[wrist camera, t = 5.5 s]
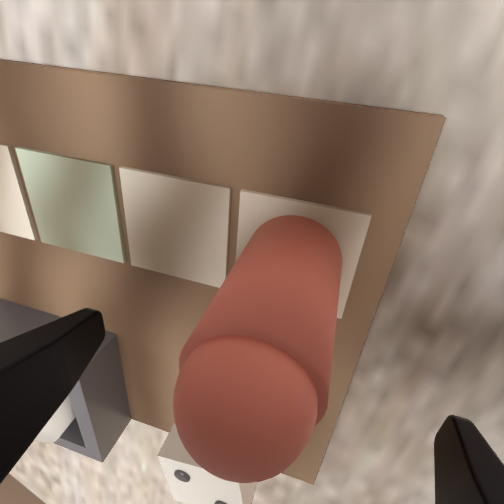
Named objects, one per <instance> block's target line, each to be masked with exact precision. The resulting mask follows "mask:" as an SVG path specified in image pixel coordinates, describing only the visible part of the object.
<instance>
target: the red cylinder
mask: <svg viewBox="0 0 504 504" xmlns="http://www.w3.org/2000/svg"><path fill="white" fill-rule="evenodd" d="M341 271H342V253H341V249H340V246H339V244H338V242H337V240H336V239H335V237H334V236H333V235H332V233H331V232H330V231H329V230H328V229H327V228H325V227H324V226H323V225H321V224H320V223H318V222H316V221H314V220H312V219H309V218H306V217H303V216H296V215H286V216H279V217H276V218H273V219H270V220H268V221H266V222H265V223H263V224H262V225H261V226H260V227H259V228H258V229H257V230H256V231H255V232H254V234H253V235H252V237H251V239H250V240H249V242H248V244H247V245H246V247H245V248H244V250H243V252H242V253H241V255H240V256H239V258H238V260H237V261H236V263H235V264H234V266H233V268H232V269H231V271H230V273H229V274H228V276H227V277H226V279H225V281H224V282H223V284H222V285H221V287H220V289H219V290H218V292H217V293H216V295H215V297H214V298H213V300H212V302H211V303H210V305H209V306H208V308H207V310H206V311H205V313H204V314H203V316H202V318H201V319H200V321H199V323H198V324H197V326H196V327H195V329H194V331H193V332H192V334H191V335H190V337H189V339H188V340H187V342H186V343H185V345H184V347H183V349H182V351H181V353H180V357H179V375H178V378H177V381H176V385H175V390H174V397H173V412H174V420H175V425H176V428H177V432H178V435H179V437H180V439H181V441H182V443H183V445H184V447H185V449H186V451H187V452H188V453H189V455H190V456H191V457H192V458H193V460H194V461H195V462H196V463H197V464H198V465H199V466H201V467H202V468H203V469H205V470H206V471H207V472H209V473H210V474H212V475H214V476H216V477H218V478H220V479H223V480H226V481H231V482H236V483H253V482H259V481H263V480H266V479H269V478H272V477H274V476H276V475H278V474H279V473H281V472H283V471H284V470H286V469H287V468H288V467H289V466H290V465H291V464H293V463H294V462H295V461H296V459H297V458H298V457H299V456H300V454H301V453H302V452H303V451H304V449H305V447H306V446H307V444H308V442H309V440H310V438H311V435H312V433H313V430H314V426H316V425H317V424H318V423H319V422H320V421H321V419H322V418H323V417H324V415H325V413H326V410H327V406H328V398H329V388H330V378H331V369H332V359H333V349H334V339H335V330H336V320H337V310H338V300H339V291H340V281H341Z"/></svg>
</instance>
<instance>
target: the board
mask: <svg viewBox="0 0 504 504" xmlns="http://www.w3.org/2000/svg"><path fill="white" fill-rule="evenodd" d="M445 120H446V118H445V117H444V116H442V115H436V114H429V113H421V112H413V111H405V110H397V109H389V108H381V107H373V106H365V105H358V104H350V103H342V102H334V101H326V100H318V99H310V98H302V97H295V96H287V95H279V94H271V93H263V92H255V91H247V90H239V89H231V88H224V87H216V86H208V85H200V84H192V83H184V82H176V81H168V80H160V79H153V78H145V77H137V76H129V75H121V74H113V73H105V72H97V71H89V70H82V69H74V68H66V67H58V66H50V65H42V64H34V63H26V62H18V61H11V60H3V59H0V299H5V300H8V301H11V302H15V303H18V304H21V305H24V306H28V307H31V308H34V309H37V310H41V311H44V312H47V313H50V314H54V315H57V316H60V317H64V316H66V315H69V314H71V313H74V312H76V311H79V310H81V309H84V308H92V309H95V310H99V311H100V312H101V313H102V316H103V321H104V326H105V330H106V331H109V332H112V333H115V334H116V335H117V340H118V346H119V351H120V357H121V363H122V368H123V374H124V380H125V385H126V391H127V396H128V402H129V408H130V413H131V419H134V420H137V421H139V422H142V423H145V424H148V425H150V426H153V427H156V428H159V429H161V430H164V431H167V432H170V431H171V429H172V427H173V425H174V423H175V420H174V412H173V397H174V390H175V385H176V381H177V378H178V375H179V357H180V353H181V351H182V349H183V347H184V345H185V343H186V342H187V340H188V339H189V337H190V335H191V334H192V332H193V331H194V329H195V327H196V326H197V324H198V323H199V321H200V319H201V318H202V316H203V314H204V313H205V311H206V310H207V308H208V306H209V305H210V303H211V302H212V300H213V298H214V297H215V295H216V293H217V292H218V290H219V289H220V287H221V285H222V284H223V282H224V281H225V279H226V277H227V276H228V274H229V273H230V271H231V269H232V268H233V266H234V264H235V263H236V261H237V260H238V258H239V256H240V255H241V253H242V252H243V250H244V248H245V247H246V245H247V244H248V242H249V240H250V239H251V237H252V235H253V234H254V232H255V231H256V230H257V229H258V228H259V227H260V226H261V225H262V224H263V223H265V222H266V221H268V220H270V219H273V218H276V217H279V216H286V215H296V216H303V217H306V218H309V219H312V220H314V221H316V222H318V223H320V224H321V225H323V226H324V227H325V228H327V229H328V230H329V231H330V232H331V233H332V235H333V236H334V237H335V239H336V240H337V242H338V244H339V246H340V249H341V253H342V271H341V281H340V291H339V300H338V310H337V320H336V330H335V339H334V349H333V359H332V369H331V378H330V388H329V398H328V406H327V410H326V413H325V415H324V417H323V418H322V419H321V421H320V422H319V423H318V424H317V425H316V426H314V430H313V433H312V435H311V438H310V440H309V442H308V444H307V446H306V447H305V449H304V451H303V452H302V453H301V454H300V456H299V457H298V458H297V459H296V461H295V462H294V463H293V464H291V465H290V466H289V467H288V468H287V469H286V470H284V471H283V472H281V473H283V474H286V475H289V476H291V477H294V478H297V479H300V480H302V481H305V482H308V483H311V484H313V485H314V482H315V480H316V477H317V474H318V471H319V468H320V466H321V463H322V460H323V457H324V455H325V452H326V449H327V446H328V444H329V441H330V438H331V435H332V432H333V430H334V427H335V424H336V421H337V419H338V416H339V413H340V410H341V408H342V405H343V402H344V399H345V396H346V394H347V391H348V388H349V385H350V383H351V380H352V377H353V374H354V372H355V369H356V366H357V363H358V360H359V358H360V355H361V352H362V349H363V347H364V344H365V341H366V338H367V336H368V333H369V330H370V327H371V324H372V322H373V319H374V316H375V313H376V311H377V308H378V305H379V302H380V300H381V297H382V294H383V291H384V288H385V286H386V283H387V280H388V277H389V275H390V272H391V269H392V266H393V264H394V261H395V258H396V255H397V252H398V250H399V247H400V244H401V241H402V239H403V236H404V233H405V230H406V228H407V225H408V222H409V219H410V216H411V214H412V211H413V208H414V205H415V203H416V200H417V197H418V194H419V192H420V189H421V186H422V183H423V180H424V178H425V175H426V172H427V169H428V167H429V164H430V161H431V158H432V156H433V153H434V150H435V147H436V144H437V142H438V139H439V136H440V133H441V131H442V128H443V125H444V122H445Z"/></svg>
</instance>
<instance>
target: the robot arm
mask: <svg viewBox="0 0 504 504" xmlns="http://www.w3.org/2000/svg"><path fill="white" fill-rule="evenodd" d="M105 334H106V331H105V326H104V321H103V316H102V313H101V312H100V311H99V310H95V309H92V308H84V309H81V310H79V311H76V312H74V313H71V314H69V315H66V316H64V317H61V318H59V319H57V320H54V321H52V322H49V323H47V324H44V325H42V326H39V327H37V328H35V329H32V330H30V331H27V332H25V333H22V334H20V335H17V336H15V337H13V338H10V339H8V340H5V341H3V342H0V484H1V483H2V481H3V480H4V479H5V477H6V476H7V475H8V473H9V472H10V471H11V469H12V468H13V467H14V466H15V464H16V463H17V462H18V460H19V459H20V458H21V456H22V455H23V454H24V452H25V451H26V450H27V449H28V447H29V446H30V445H31V443H32V442H33V441H34V439H35V438H36V437H37V436H38V434H39V433H40V432H41V430H42V429H43V428H44V426H45V425H46V424H47V422H48V421H49V420H50V419H51V417H52V416H53V415H54V413H55V412H56V411H57V409H58V408H59V407H60V405H61V404H62V403H63V402H64V400H65V399H66V398H67V396H68V395H69V394H70V392H71V391H72V389H73V388H74V387H75V385H76V384H77V382H78V381H79V379H80V377H81V376H82V374H83V373H84V371H85V369H86V368H87V366H88V365H89V363H90V361H91V360H92V358H93V357H94V355H95V353H96V352H97V350H98V349H99V347H100V345H101V344H102V342H103V340H104V338H105ZM434 462H435V504H504V464H503V463H502V462H501V460H500V459H499V458H498V456H497V455H496V454H495V452H494V451H493V449H492V448H491V447H490V445H489V444H488V443H487V441H486V440H485V439H484V437H483V436H482V435H481V433H480V432H479V430H478V429H477V428H476V426H475V425H474V424H473V423H472V422H471V421H470V420H468V419H465V418H462V417H459V416H455V415H450V416H448V417H447V418H446V420H445V421H444V423H443V425H442V426H441V428H440V429H439V431H438V432H437V434H436V436H435V441H434Z"/></svg>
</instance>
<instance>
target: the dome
mask: <svg viewBox="0 0 504 504" xmlns="http://www.w3.org/2000/svg"><path fill="white" fill-rule="evenodd" d="M75 417H76V416H75V413H74V410H73V407H72V404H71V401H70V398H69V395H68V396H67V398H66V399H65V400H64V402H63V403H62V404H61V405H60V407H59V408H58V409H57V411H56V412H55V413H54V415H53V416H52V417H51V419H50V420H49V421H48V422H47V424H46V425H45V426H44V428H43V429H42V430H41V432H40V433H39V434H38V436H37V437H36V438H35V439H34V440H35V441H38V442H42V443H53V442H55V441H57V440H58V438H59V437H60V436H61V435H62V433H63V432H64V431H65V430H66V428H67V427H68V426H69V425H70V424H71V422H72V421H73V420H74V419H75Z"/></svg>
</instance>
